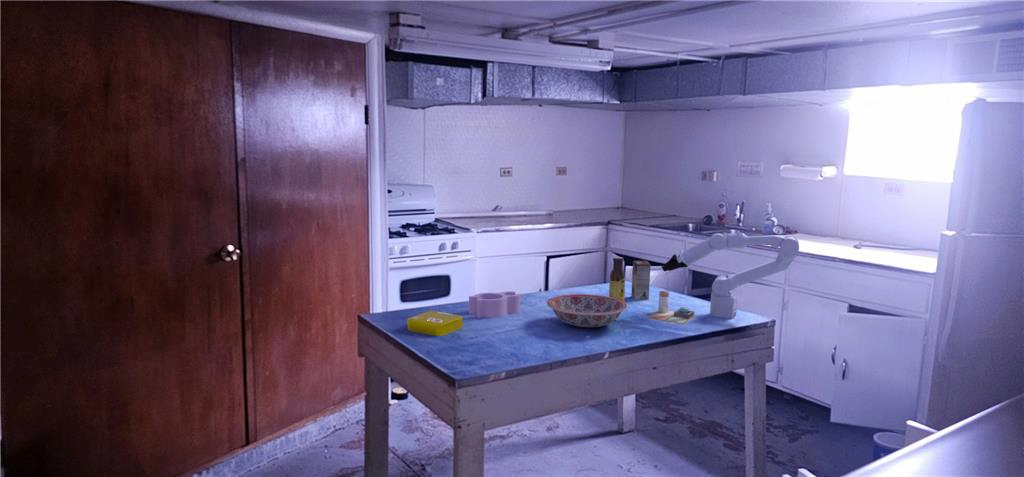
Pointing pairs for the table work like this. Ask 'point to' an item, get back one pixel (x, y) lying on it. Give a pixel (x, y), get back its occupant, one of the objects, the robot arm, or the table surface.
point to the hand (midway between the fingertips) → (665, 268)
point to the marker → (663, 301)
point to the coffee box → (640, 280)
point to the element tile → (435, 323)
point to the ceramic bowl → (586, 309)
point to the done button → (684, 310)
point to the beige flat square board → (669, 317)
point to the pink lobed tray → (494, 304)
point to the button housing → (683, 314)
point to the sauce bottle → (617, 280)
